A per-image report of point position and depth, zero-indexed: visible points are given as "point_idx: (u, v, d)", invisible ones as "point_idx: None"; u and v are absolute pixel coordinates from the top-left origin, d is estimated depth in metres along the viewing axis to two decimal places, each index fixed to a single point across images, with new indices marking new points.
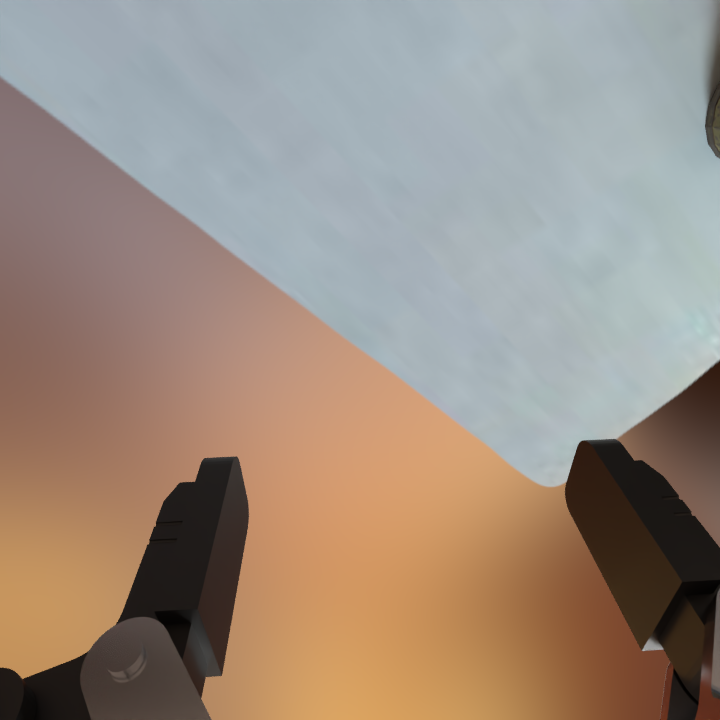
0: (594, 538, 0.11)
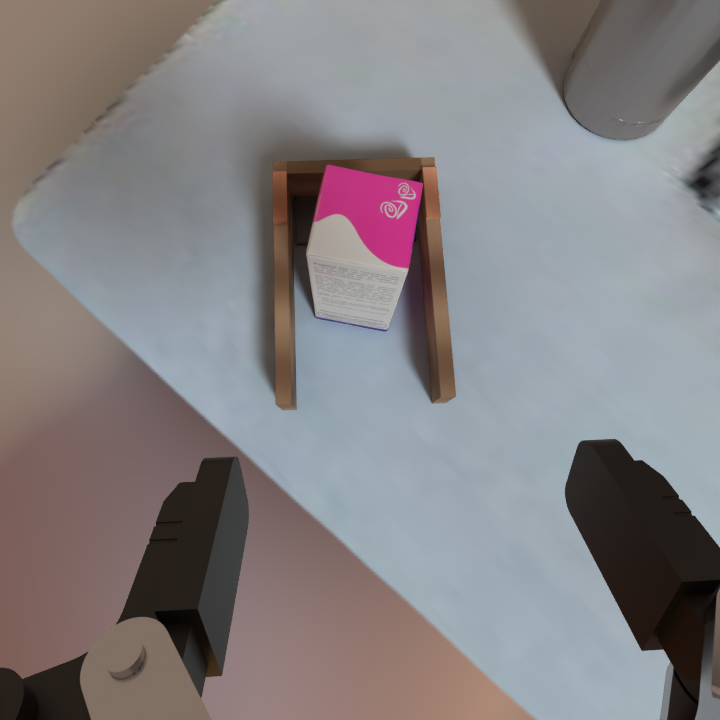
0: (594, 538, 0.11)
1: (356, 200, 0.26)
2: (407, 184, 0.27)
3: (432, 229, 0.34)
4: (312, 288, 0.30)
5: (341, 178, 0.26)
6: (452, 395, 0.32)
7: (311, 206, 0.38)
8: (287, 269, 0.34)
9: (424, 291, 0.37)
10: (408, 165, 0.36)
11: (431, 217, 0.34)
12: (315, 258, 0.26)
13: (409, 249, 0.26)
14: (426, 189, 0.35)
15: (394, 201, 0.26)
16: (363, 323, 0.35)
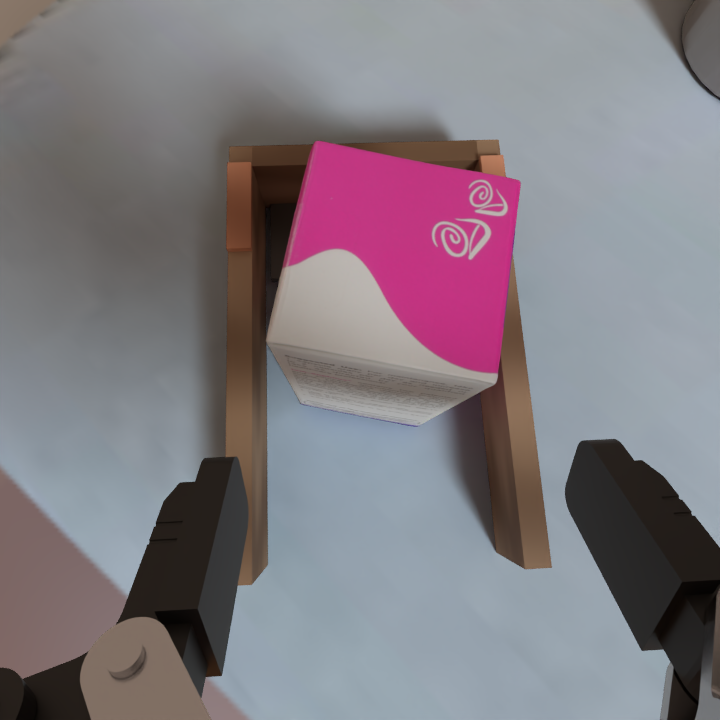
0: (594, 538, 0.11)
1: (379, 218, 0.12)
2: (489, 183, 0.12)
3: None
4: (289, 381, 0.16)
5: (346, 170, 0.12)
6: (545, 565, 0.18)
7: None
8: (250, 332, 0.19)
9: None
10: (456, 153, 0.21)
11: None
12: (287, 350, 0.11)
13: (499, 328, 0.11)
14: None
15: (462, 221, 0.12)
16: (380, 418, 0.21)
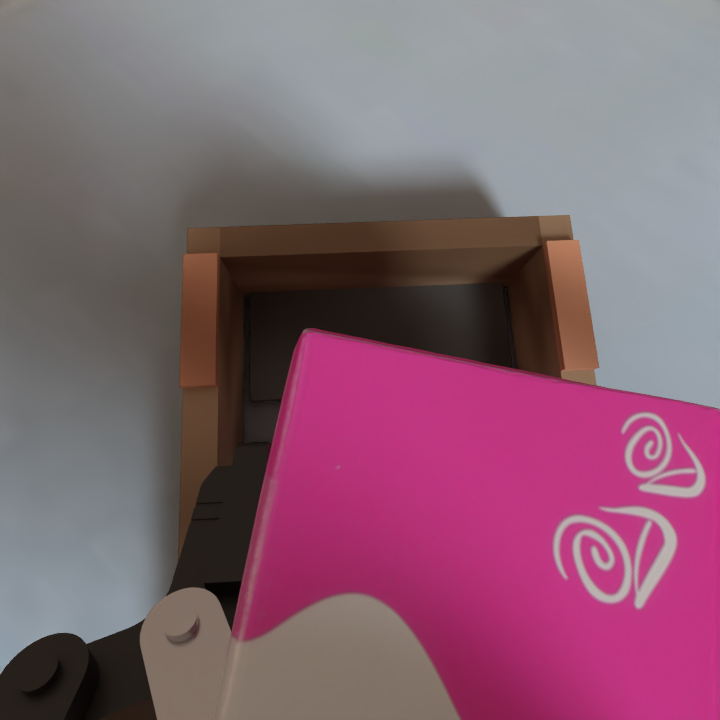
0: None
1: (439, 514, 0.06)
2: (661, 419, 0.06)
3: None
4: None
5: (368, 398, 0.06)
6: None
7: (283, 315, 0.17)
8: None
9: None
10: (510, 235, 0.15)
11: (576, 368, 0.14)
12: None
13: None
14: (559, 297, 0.14)
15: (614, 514, 0.06)
16: None
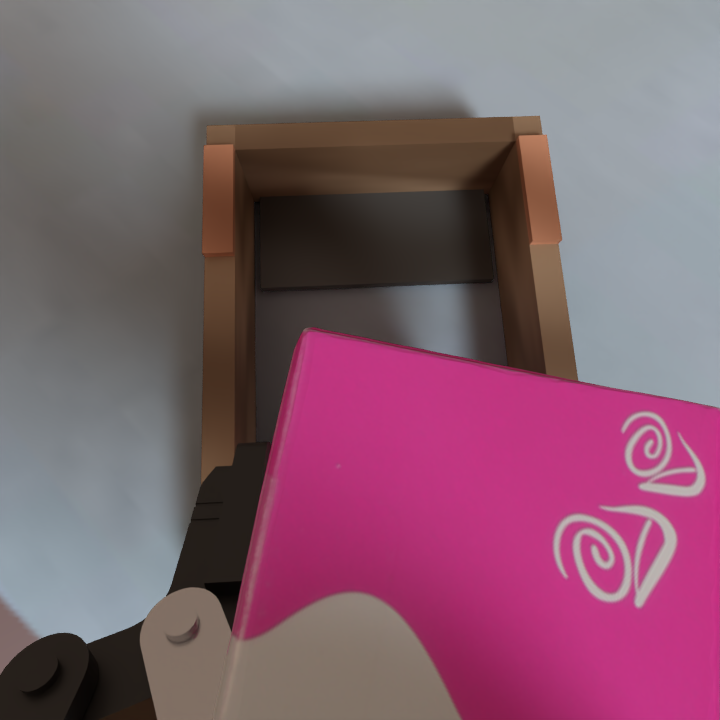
0: None
1: (439, 512, 0.06)
2: (662, 419, 0.06)
3: (543, 268, 0.16)
4: None
5: (368, 397, 0.06)
6: None
7: (289, 216, 0.20)
8: (232, 358, 0.15)
9: None
10: (487, 132, 0.17)
11: (542, 241, 0.16)
12: None
13: None
14: (529, 182, 0.16)
15: (615, 513, 0.06)
16: None
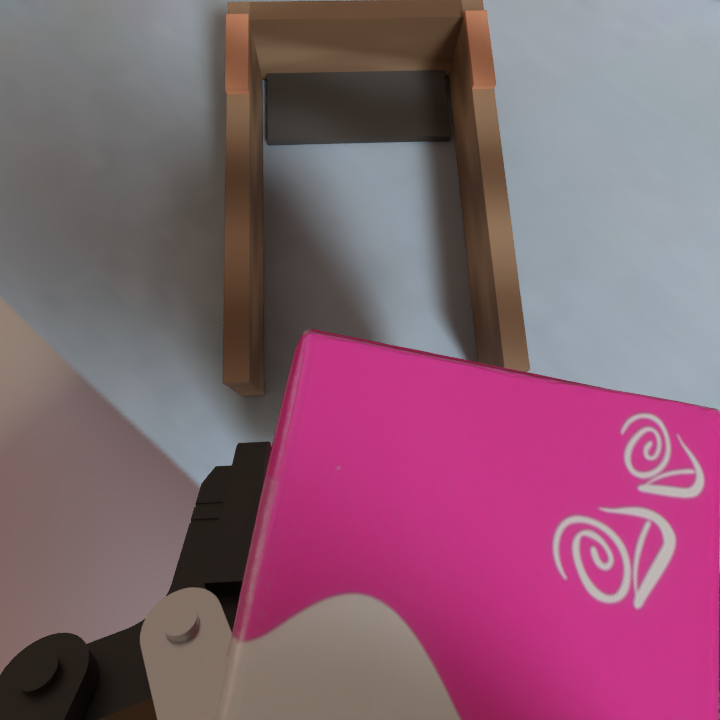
0: None
1: (440, 514, 0.06)
2: (660, 421, 0.06)
3: (482, 105, 0.21)
4: None
5: (368, 399, 0.06)
6: (523, 368, 0.19)
7: (290, 88, 0.25)
8: (247, 164, 0.20)
9: (465, 212, 0.24)
10: (442, 10, 0.23)
11: (481, 84, 0.21)
12: None
13: None
14: (472, 43, 0.22)
15: (614, 514, 0.06)
16: None
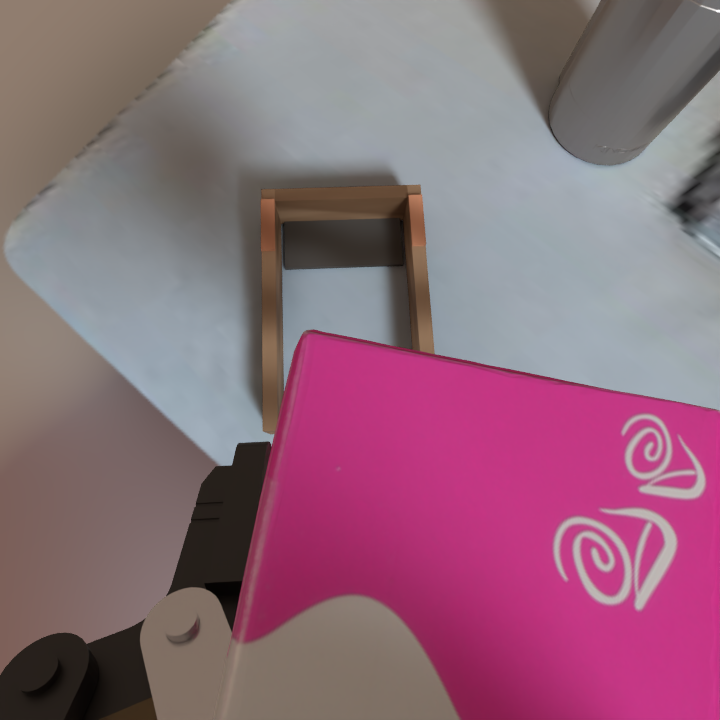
0: None
1: (439, 515, 0.06)
2: (662, 421, 0.06)
3: (417, 257, 0.35)
4: None
5: (368, 400, 0.06)
6: None
7: (299, 231, 0.39)
8: (275, 296, 0.34)
9: (410, 316, 0.37)
10: (394, 192, 0.36)
11: (417, 244, 0.35)
12: None
13: None
14: (412, 217, 0.35)
15: (615, 516, 0.06)
16: None
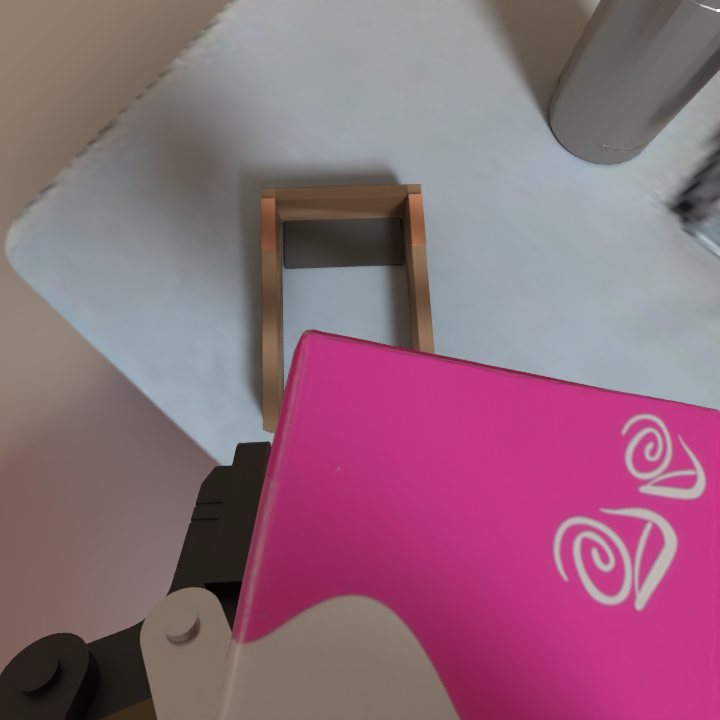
0: None
1: (439, 515, 0.06)
2: (662, 421, 0.06)
3: (417, 256, 0.35)
4: None
5: (368, 400, 0.06)
6: None
7: (300, 231, 0.39)
8: (275, 295, 0.34)
9: (410, 315, 0.37)
10: (394, 192, 0.36)
11: (417, 243, 0.35)
12: None
13: None
14: (412, 216, 0.35)
15: (614, 515, 0.06)
16: None
